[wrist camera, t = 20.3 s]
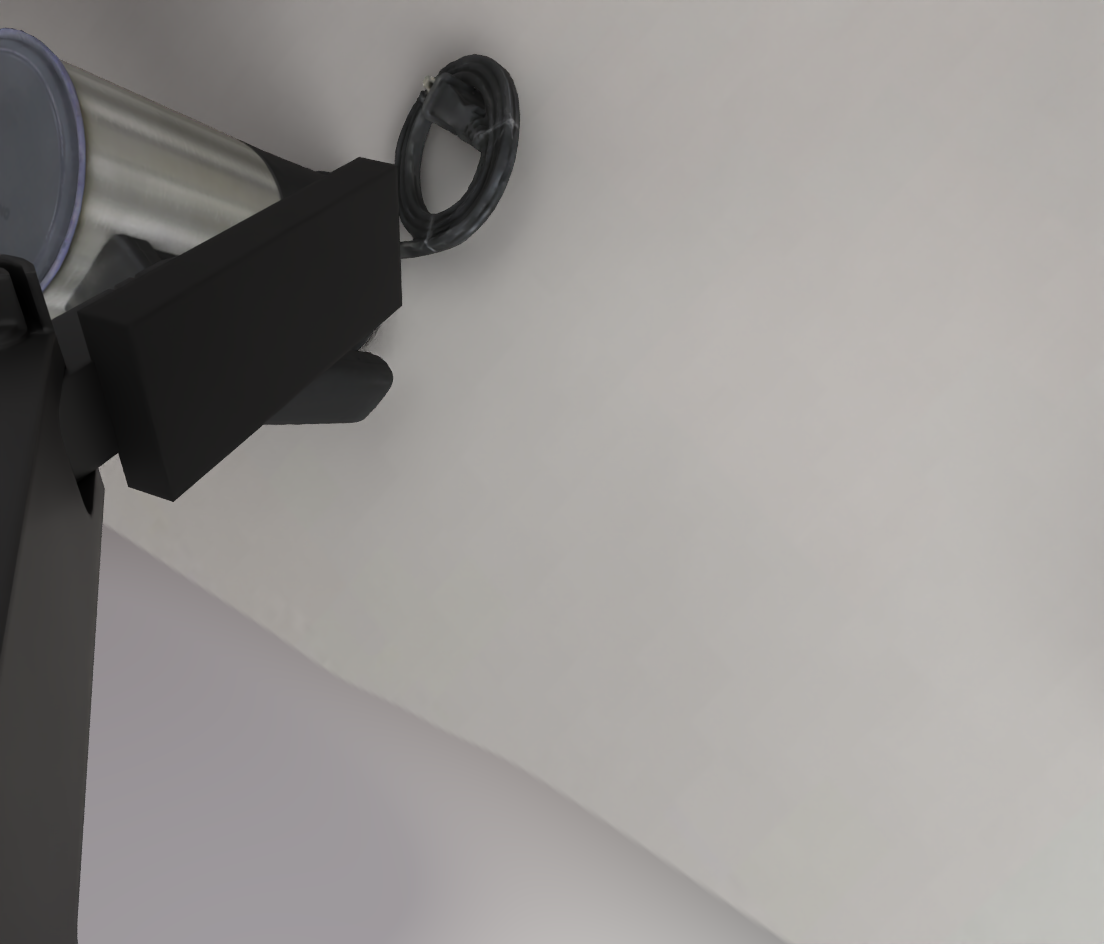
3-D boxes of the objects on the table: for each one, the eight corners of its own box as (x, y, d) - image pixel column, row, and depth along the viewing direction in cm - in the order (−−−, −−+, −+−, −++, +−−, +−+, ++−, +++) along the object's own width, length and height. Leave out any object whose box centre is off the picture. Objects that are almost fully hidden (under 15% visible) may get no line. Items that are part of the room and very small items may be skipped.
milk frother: (211, 323, 42) (-138, 260, 29) (332, 3, 39) (0, -237, 25) (425, 462, 37) (121, 463, 24) (587, 106, 34) (338, -128, 20)
